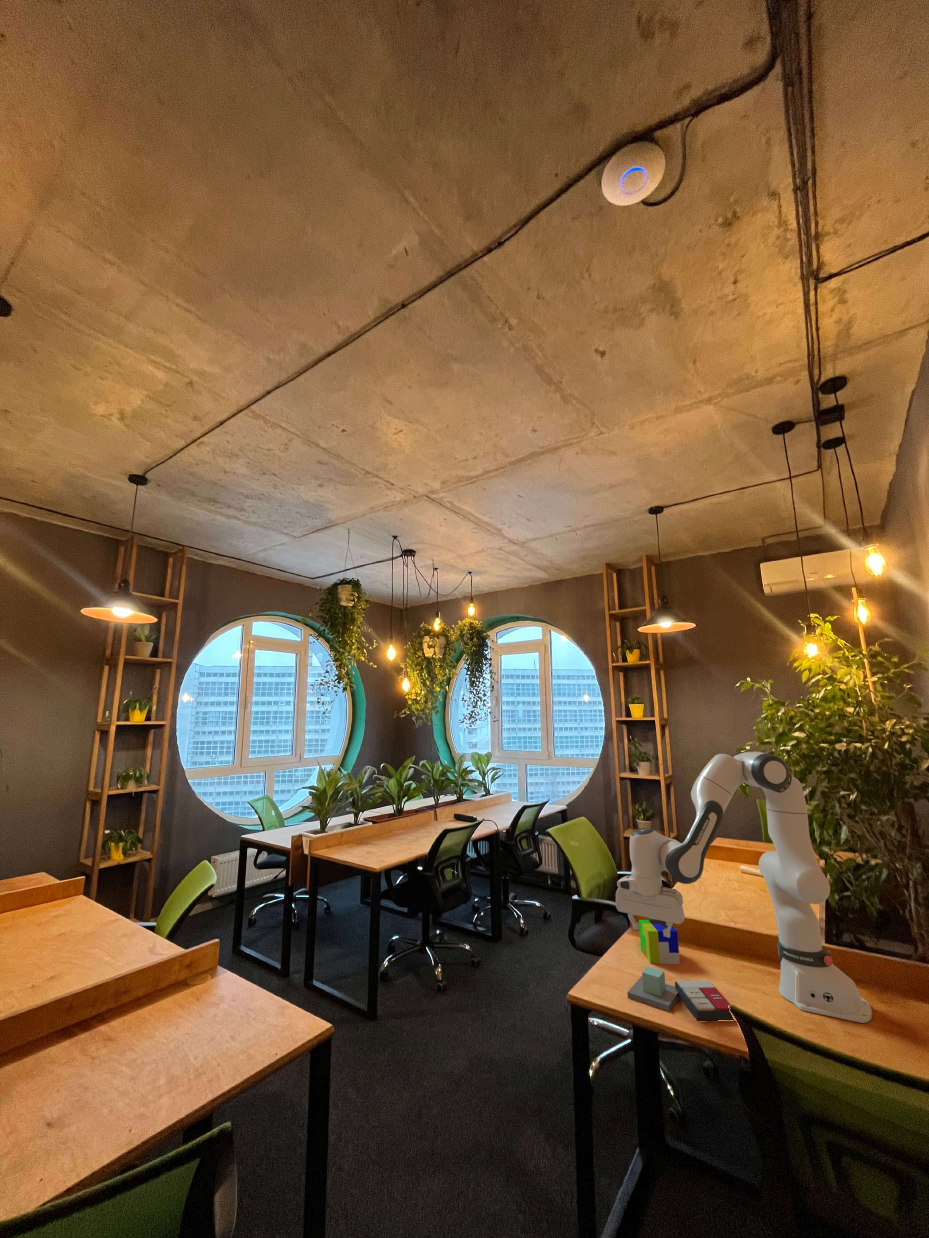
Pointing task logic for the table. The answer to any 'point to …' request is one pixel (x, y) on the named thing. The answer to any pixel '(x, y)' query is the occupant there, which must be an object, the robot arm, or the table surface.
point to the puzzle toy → (658, 942)
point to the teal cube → (653, 981)
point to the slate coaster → (654, 996)
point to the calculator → (703, 1000)
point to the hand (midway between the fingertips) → (651, 932)
